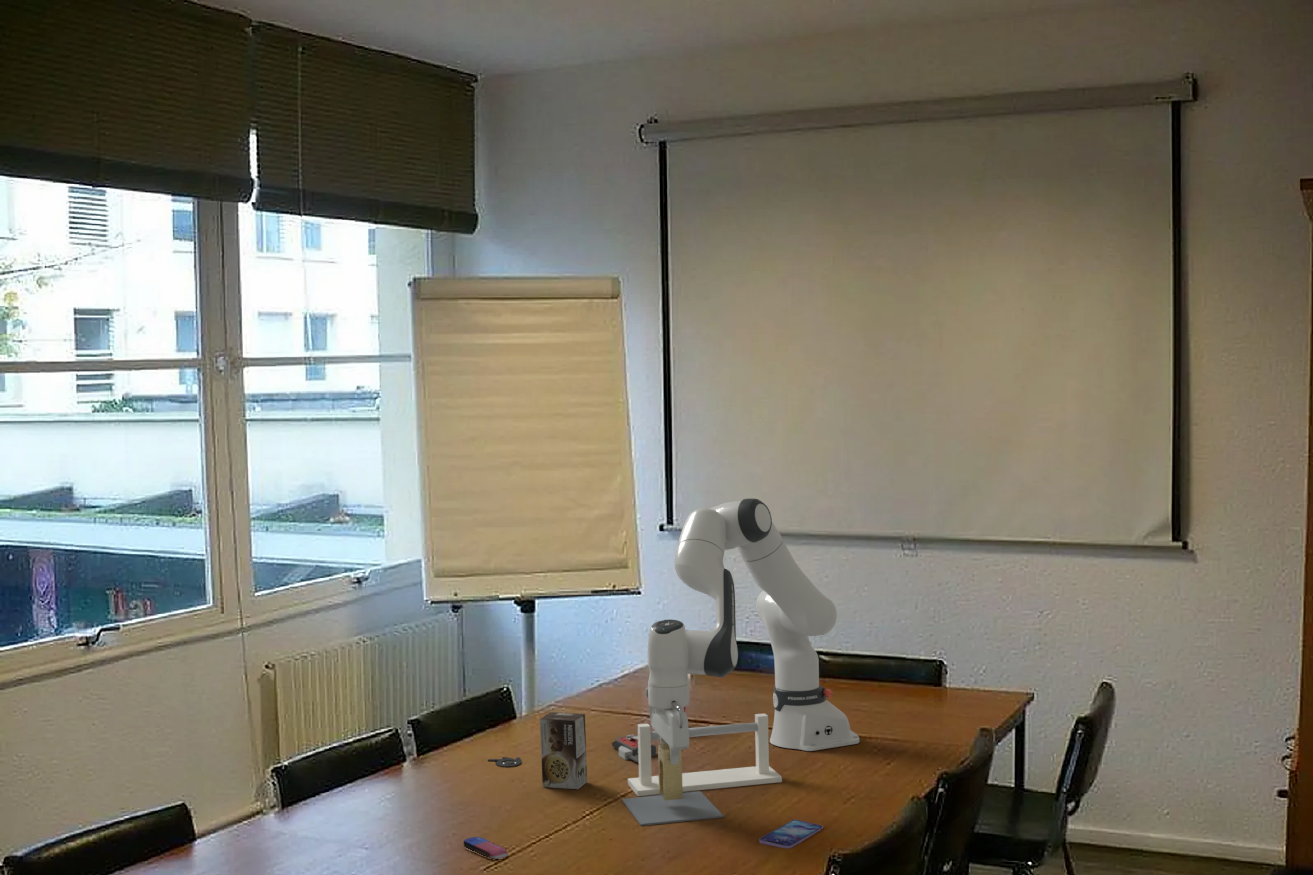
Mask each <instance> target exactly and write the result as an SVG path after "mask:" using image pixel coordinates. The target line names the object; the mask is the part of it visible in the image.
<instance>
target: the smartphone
mask: <svg viewBox="0 0 1313 875" xmlns="http://www.w3.org/2000/svg"><path fill="white" fill-rule="evenodd" d="M823 828H824V825H821V824H819V823H818V824H817V823H813V822H809V821H803V820H800V819H792V820H790V821H788V822H787V823H785V824H783V825H781V826H780V827H778V828H775V829H774V830H771V831H770V832H769V833H766V834H765V835H763V836H762V837H759V843H760V844H763V845H768V846H772V847H776V848H777V847H778V848H780V849H781V848H782V849H791V848H793V847H795V846H797V845H799V844H800V843H802V842H803V841H806V839H808V838H810V837H812V836H813V835H815V834H816V833H819V832H820V831H822V830H823ZM821 829H822V830H821Z"/></svg>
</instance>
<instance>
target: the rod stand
mask: <svg viewBox="0 0 1313 875" xmlns="http://www.w3.org/2000/svg"><path fill="white" fill-rule="evenodd" d="M688 728H689V738H692V737H694V738H695V737H705V736H707V737H708V736H717V735H728V734H738V733H748V732H754V733H755V734H754V738H755V739H754V740H755V742H754V743H755V766H745V767H735V768H734V767H733V768H723V769H716V770H715V769H714V770H703V771H693V772H682V790H683V793H686V792H697V791H705V790H714V789H725V788H734V787H735V788H736V787H743V786H754V785H766V784H774V783H775V784H776V783H783V777H782V776H781V774H779V773H778V772H777V771H776V770H775V769H773V768H772V767H771V766H770V759H769V758H770V755H769V754H770V752H769V748H770V747H769V745H770V744H769V743H770V740H769V715H768V714H766V713H756V714H754V722H745V723H744V722H743V723H732V724H722V725H721V724H720V725H710V726H700V727H688ZM637 736H638V761H639V762H638V777H629V778H627V785H628V786H629V788H631V790H632V791H633V792H634V793H635V795H636V796H637V797H646V796H656V795H660V794H659V775H652V756H651V744H652V741H660V735H659V734H658V733H657V732H656V731H655V730H652V731H651V724H648V723H640V724H639V723H638V724H637Z"/></svg>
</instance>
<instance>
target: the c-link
mask: <svg viewBox="0 0 1313 875" xmlns="http://www.w3.org/2000/svg"><path fill="white" fill-rule="evenodd" d="M682 750H683V749H681V750H680V753H679V763H678V764H675V765H672V764H671V763H670V762H669V755H670V748H669V745H668V744H667V743H665V744H661V743H658V744H657V756H658V757H657V758H658V760H657V761H658V766H657V767H658V776H659V794H658V795H663V796H664V800H665V801H666V800H676V799H683V793H684V792H683V790H682V773H683V752H682Z"/></svg>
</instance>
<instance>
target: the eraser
mask: <svg viewBox="0 0 1313 875" xmlns="http://www.w3.org/2000/svg"><path fill="white" fill-rule="evenodd" d="M463 846H464V848H465V847H466V848H468V849H470V850H472V851H475V852H477V853H479V854H481V855H483V856H486V857H489V858H491V859H499V858H504V857H507V856H508V855H509V854H508V852H507V849H506V848H505V847H504V846H502V845H499V844H497V843H495V842H491V841H490V840H488V839H486V838H484V837H479V836H472V837H468V838H466V839H464V840H463ZM483 856H482V857H483ZM486 857H485V858H486ZM507 858H508V857H507ZM504 859H505V858H504Z"/></svg>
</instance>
